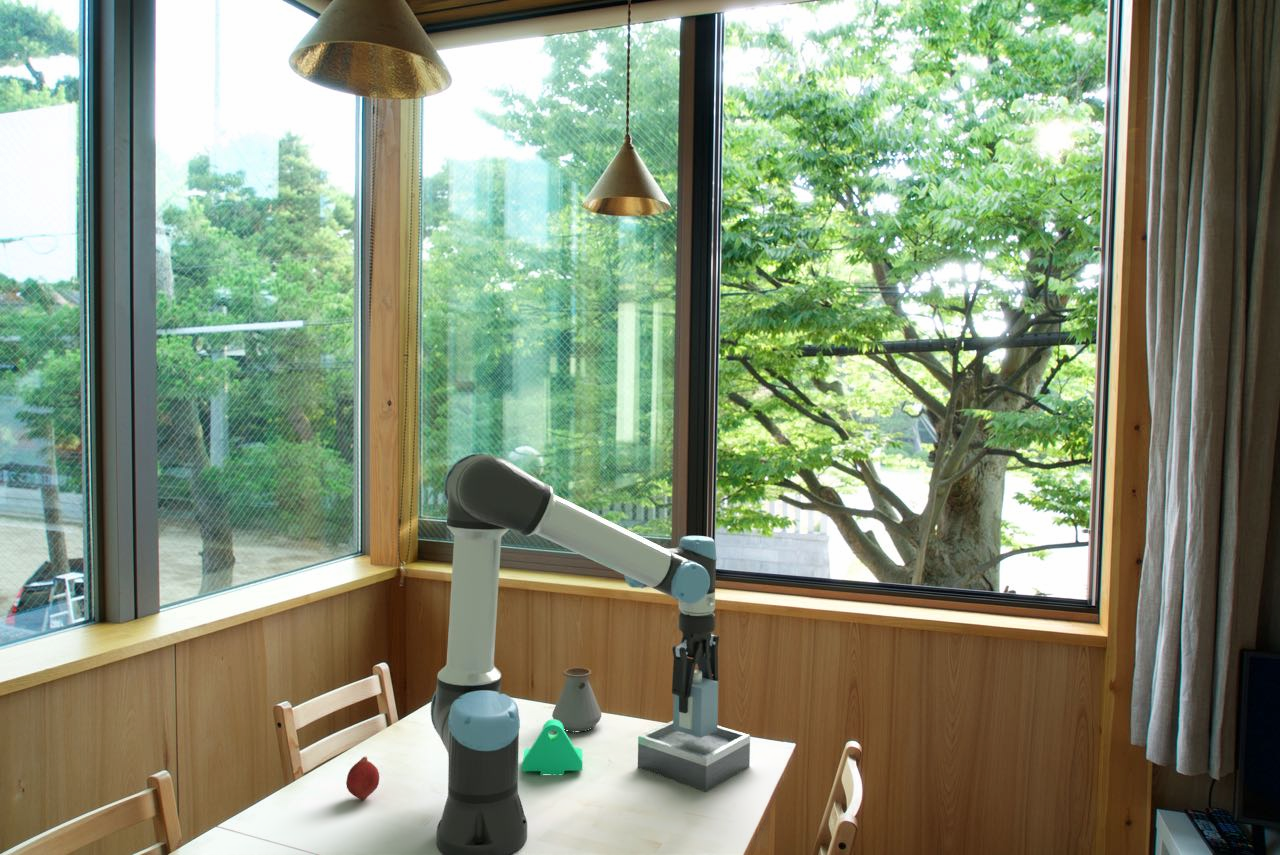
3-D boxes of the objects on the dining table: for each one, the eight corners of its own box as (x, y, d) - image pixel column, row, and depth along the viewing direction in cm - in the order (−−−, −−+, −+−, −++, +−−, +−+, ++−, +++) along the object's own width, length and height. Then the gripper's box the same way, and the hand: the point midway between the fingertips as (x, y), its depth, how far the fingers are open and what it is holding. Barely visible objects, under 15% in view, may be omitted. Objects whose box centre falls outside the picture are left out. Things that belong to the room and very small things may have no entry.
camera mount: (581, 760, 174) (582, 711, 174) (582, 775, 167) (583, 724, 167) (524, 760, 173) (525, 712, 173) (522, 776, 166) (523, 725, 166)
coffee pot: (551, 718, 198) (552, 655, 198) (598, 716, 199) (600, 654, 199) (554, 754, 177) (556, 684, 177) (608, 752, 178) (609, 682, 178)
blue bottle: (700, 738, 167) (701, 678, 167) (673, 729, 171) (674, 671, 171) (717, 729, 172) (718, 671, 171) (689, 721, 176) (690, 665, 176)
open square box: (705, 792, 160) (706, 758, 160) (637, 767, 171) (638, 736, 171) (749, 766, 172) (750, 735, 172) (683, 744, 183) (683, 715, 183)
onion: (344, 808, 151) (345, 764, 151) (347, 794, 156) (348, 751, 156) (378, 804, 152) (379, 761, 152) (379, 791, 158) (380, 749, 158)
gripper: (684, 622, 162) (682, 740, 162) (737, 606, 176) (735, 714, 177) (654, 616, 166) (652, 731, 166) (707, 601, 181) (706, 706, 181)
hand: (695, 722), depth 171 cm, fingers closed on blue bottle, 6 cm apart
